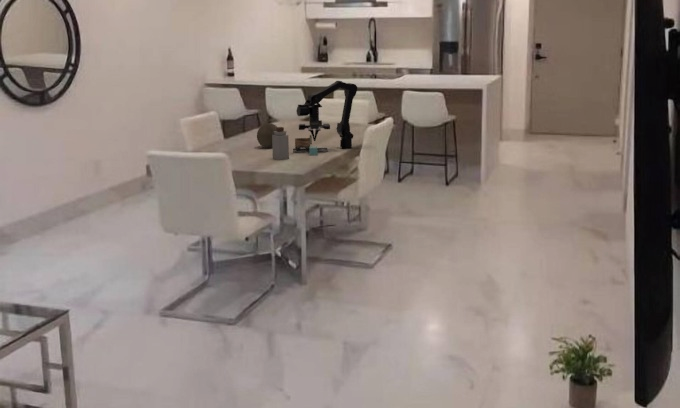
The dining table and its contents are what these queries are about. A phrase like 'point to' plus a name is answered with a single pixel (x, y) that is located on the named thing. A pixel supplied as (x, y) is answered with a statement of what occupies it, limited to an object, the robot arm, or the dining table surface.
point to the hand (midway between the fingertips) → (314, 140)
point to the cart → (303, 143)
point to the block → (313, 151)
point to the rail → (308, 150)
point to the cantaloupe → (266, 134)
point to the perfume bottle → (280, 144)
